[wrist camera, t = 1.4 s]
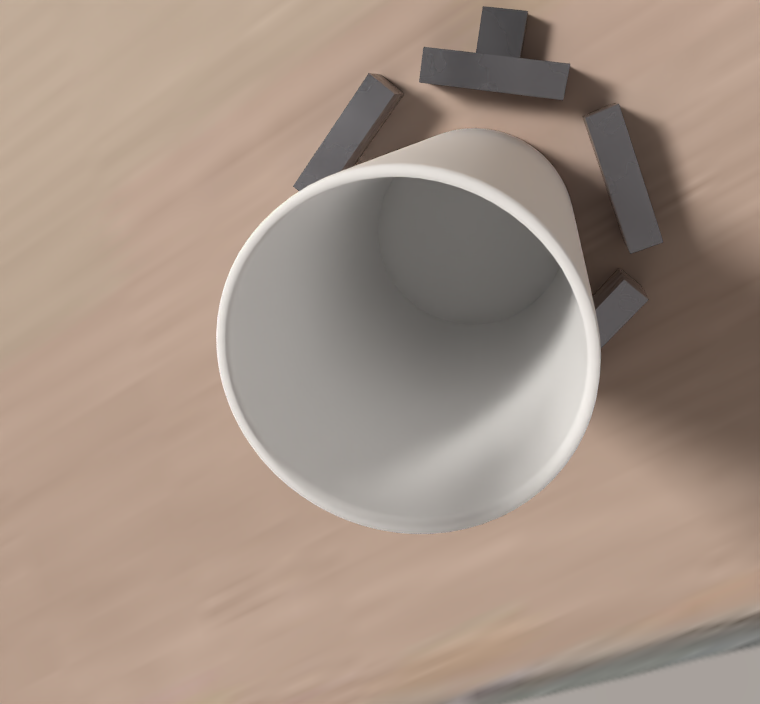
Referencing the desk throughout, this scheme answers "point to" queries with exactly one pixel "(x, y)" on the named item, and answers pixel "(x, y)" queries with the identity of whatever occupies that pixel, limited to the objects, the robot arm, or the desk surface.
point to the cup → (416, 335)
